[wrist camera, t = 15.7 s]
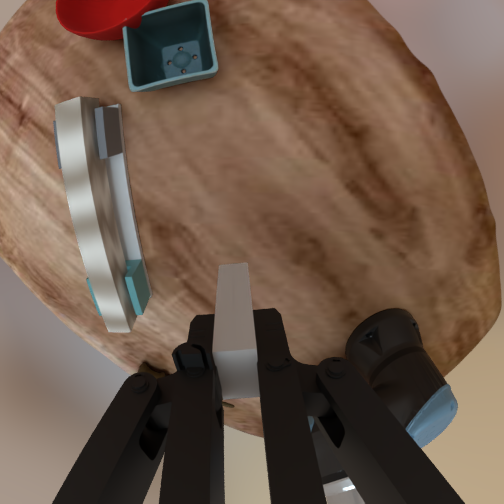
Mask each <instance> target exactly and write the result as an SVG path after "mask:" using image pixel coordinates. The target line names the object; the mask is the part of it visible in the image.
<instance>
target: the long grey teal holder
mask: <svg viewBox="0 0 504 504" xmlns="http://www.w3.org/2000/svg"><path fill="white" fill-rule="evenodd" d="M95 118H96V129H97V138H98V147H99V155H100V159H105V163H106V169H107V176H108V182H109V188H110V194H111V199H112V204H113V210H114V215H115V219H116V224H117V229H118V233H119V238H120V242H121V246H122V250H123V255H124V259H125V262H126V266H127V270H128V272H127V274H126V276H125V280H126V284H127V287H128V291H129V294H130V297H131V301H132V304H133V307H134V310H135V313H136V315H143V313H144V310H145V307H146V305H147V302H148V300H149V298H151V297H152V290H151V286H150V282H149V278H148V274H147V269H146V265H145V261H144V256H143V252H142V247H141V243H140V238H139V233H138V228H137V223H136V217H135V212H134V206H133V200H132V194H131V188H130V182H129V175H128V168H127V160H126V152H125V144H124V135H123V125H122V113H121V104H116V105H112V106H107V107H99V108H95ZM53 124H54V134H55V143H56V151H57V158H58V165H59V169H61V168H62V167H61V160H60V153H59V145H58V137H57V127H56V121H53ZM86 280H87V283H88V286H89V289H90V292H91V295H92V298H93V300H94V303H95V306H96V308H97V311H98V314H99V315H102V314H101V312H100V309H99V306H98V304H97V301H96V298H95V295H94V293H93V290H92V287H91V284H90V281H89V278H87V279H86Z"/></svg>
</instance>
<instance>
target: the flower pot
mask: <svg viewBox="0 0 504 504" xmlns="http://www.w3.org/2000/svg"><path fill="white" fill-rule="evenodd" d="M141 17H142V20H141V24H140V26H139V27H138V28H136V29H135V28H130V27H128V26H125V27H123V28H122V29H123V38H124V48H125V57H126V65H127V74H128V83H129V88H130V90H131V91H132V92H147V91H154V90H158V89H161V88H165V87H169V86H173V85H178V84H182V83H187V82H191V81H196V80H201V79H207V78H212V77H214V76H215V75H216V73H217V70H218V62H217V57H216V51H215V46H214V40H213V34H212V27H211V21H210V13H209V4H208V1H207V0H192V1H187V2H183V3H179V4H174V5H171V6H167V7H163V8H159V9H156V10H152V11H148V12H146V13H144V14H143V15H142V16H141ZM125 20H126V19H125ZM180 47H182V48H183V50H182V51H180V50H179V48H180ZM195 55H196V56H197V58H196V59H193V56H195ZM169 61H171V62H172V64H171V65H169V64H168V62H169ZM183 69H185V70H186V72H185V73H182V70H183Z"/></svg>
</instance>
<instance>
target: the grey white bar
mask: <svg viewBox="0 0 504 504" xmlns="http://www.w3.org/2000/svg"><path fill="white" fill-rule="evenodd" d="M95 108H99V98H90V97H77V98H74V99H71V100H68V101H65V102H62V103H59V104H57V105H55V116H56V127H57V137H58V145H59V153H60V160H61V167H62V173H63V178H64V184H65V189H66V194H67V199H68V204H69V209H70V213H71V217H72V221H73V226H74V230H75V233H76V237H77V241H78V245H79V248H80V252H81V255H82V259H83V262H84V265H85V268H86V272H87V275H88V278H89V281H90V284H91V287H92V290H93V293H94V295H95V298H96V301H97V304H98V306H99V309H100V312H101V314H102V317H103V319H104V322H105V324H106V327H107V329H108V332H131V330H132V328H133V325H134V323H135V320H136V318H137V315H136V313H135V310H134V307H133V304H132V301H131V297H130V294H129V291H128V287H127V284H126V280H125V276H126V274H127V272H128V270H127V266H126V262H125V259H124V255H123V250H122V246H121V242H120V238H119V233H118V229H117V224H116V219H115V215H114V210H113V204H112V199H111V194H110V188H109V182H108V176H107V169H106V163H105V159H100V155H99V147H98V138H97V129H96V118H95Z"/></svg>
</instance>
